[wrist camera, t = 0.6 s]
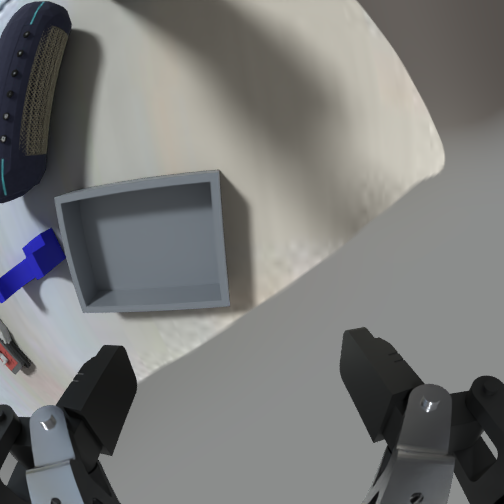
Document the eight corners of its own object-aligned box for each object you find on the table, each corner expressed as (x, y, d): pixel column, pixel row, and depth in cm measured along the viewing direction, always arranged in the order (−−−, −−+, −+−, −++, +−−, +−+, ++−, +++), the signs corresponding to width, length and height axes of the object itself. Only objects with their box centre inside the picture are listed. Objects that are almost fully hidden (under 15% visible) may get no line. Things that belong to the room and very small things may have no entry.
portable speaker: (60, 193, 26) (10, 210, 17) (10, 194, 25) (-37, 211, 16) (91, 12, 18) (58, -20, 9) (37, 29, 17) (-1, 10, 7)
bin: (75, 190, 27) (54, 197, 22) (219, 169, 28) (218, 172, 23) (97, 293, 31) (83, 312, 27) (228, 284, 33) (229, 306, 28)
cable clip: (52, 227, 28) (26, 241, 22) (66, 257, 29) (44, 276, 24) (8, 259, 28) (-14, 275, 22) (21, 285, 30) (1, 303, 24)
